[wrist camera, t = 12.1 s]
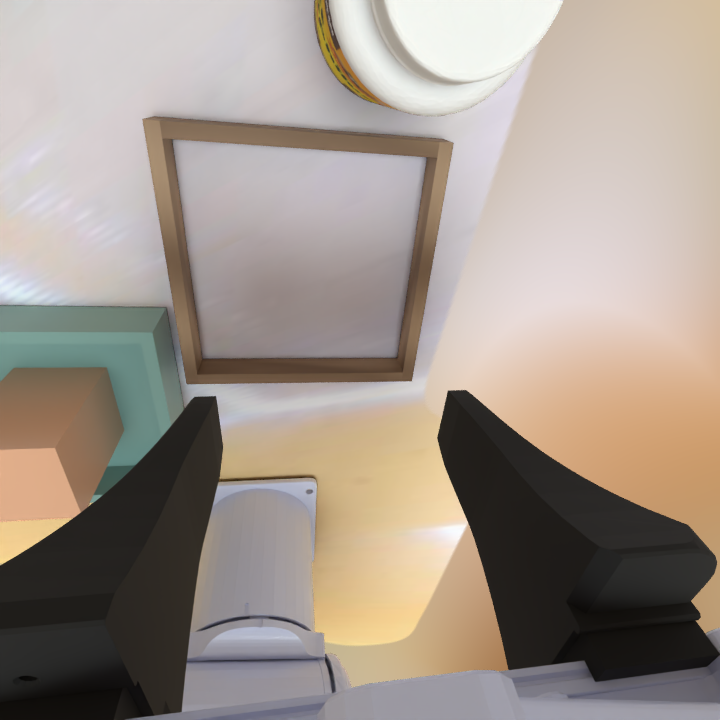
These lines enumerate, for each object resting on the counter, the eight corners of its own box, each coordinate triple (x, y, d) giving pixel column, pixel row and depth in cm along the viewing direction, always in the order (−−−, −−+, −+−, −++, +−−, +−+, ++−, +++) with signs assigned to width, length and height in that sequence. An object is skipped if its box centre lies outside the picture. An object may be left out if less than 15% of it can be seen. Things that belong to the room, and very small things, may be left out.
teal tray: (194, 465, 28) (186, 497, 26) (-1, 473, 26) (-27, 508, 24) (166, 307, 22) (152, 332, 20) (-89, 304, 20) (-135, 331, 18)
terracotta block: (124, 430, 25) (82, 517, 20) (40, 432, 24) (-24, 523, 19) (106, 367, 23) (54, 448, 18) (13, 367, 22) (-68, 452, 17)
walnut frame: (405, 366, 26) (411, 381, 24) (192, 368, 24) (186, 384, 23) (442, 139, 19) (453, 143, 18) (153, 116, 17) (142, 119, 16)
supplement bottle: (286, -38, 15) (282, -185, 7) (432, -110, 15) (622, -364, 6) (345, 126, 18) (391, 165, 10) (468, 71, 18) (627, 62, 9)
